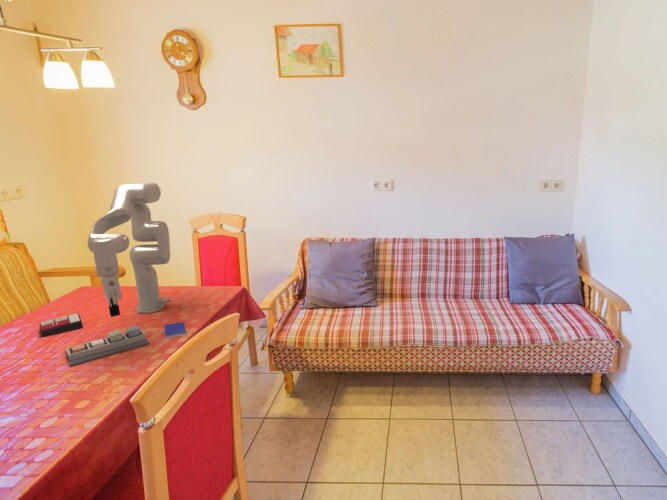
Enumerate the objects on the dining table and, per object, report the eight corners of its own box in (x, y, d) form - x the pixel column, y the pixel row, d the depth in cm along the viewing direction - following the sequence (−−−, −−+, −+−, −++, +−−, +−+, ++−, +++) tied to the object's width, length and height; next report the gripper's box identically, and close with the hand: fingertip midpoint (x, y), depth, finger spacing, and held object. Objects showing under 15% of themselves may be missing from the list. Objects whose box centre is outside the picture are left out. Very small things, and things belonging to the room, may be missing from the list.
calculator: (39, 321, 186) (78, 311, 194) (41, 330, 187) (80, 320, 195) (40, 330, 177) (81, 319, 185) (42, 339, 178) (83, 328, 187)
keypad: (140, 332, 181) (139, 325, 180) (149, 344, 170) (148, 337, 169) (65, 352, 165) (64, 345, 164) (70, 366, 154) (69, 359, 153)
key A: (120, 335, 171) (119, 329, 171) (122, 338, 168) (121, 333, 168) (109, 338, 169) (108, 332, 168) (111, 341, 166) (110, 336, 165)
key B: (84, 349, 164) (83, 343, 163) (86, 353, 161) (85, 347, 160) (72, 352, 162) (71, 346, 161) (74, 356, 158) (72, 350, 158)
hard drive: (185, 332, 177) (184, 321, 188) (164, 336, 174) (164, 324, 186) (185, 336, 177) (184, 325, 189) (164, 339, 175) (164, 328, 186)
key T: (137, 331, 175) (136, 325, 174) (140, 334, 172) (139, 328, 171) (127, 333, 173) (126, 328, 172) (129, 337, 170) (128, 331, 169)
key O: (103, 344, 168) (102, 338, 167) (105, 348, 165) (104, 342, 164) (91, 347, 165) (90, 341, 165) (93, 351, 162) (92, 345, 162)
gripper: (122, 273, 158) (129, 318, 163) (114, 264, 170) (121, 307, 175) (99, 277, 154) (107, 324, 159) (93, 267, 166) (101, 311, 171)
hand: (115, 315), depth 167 cm, fingers closed
